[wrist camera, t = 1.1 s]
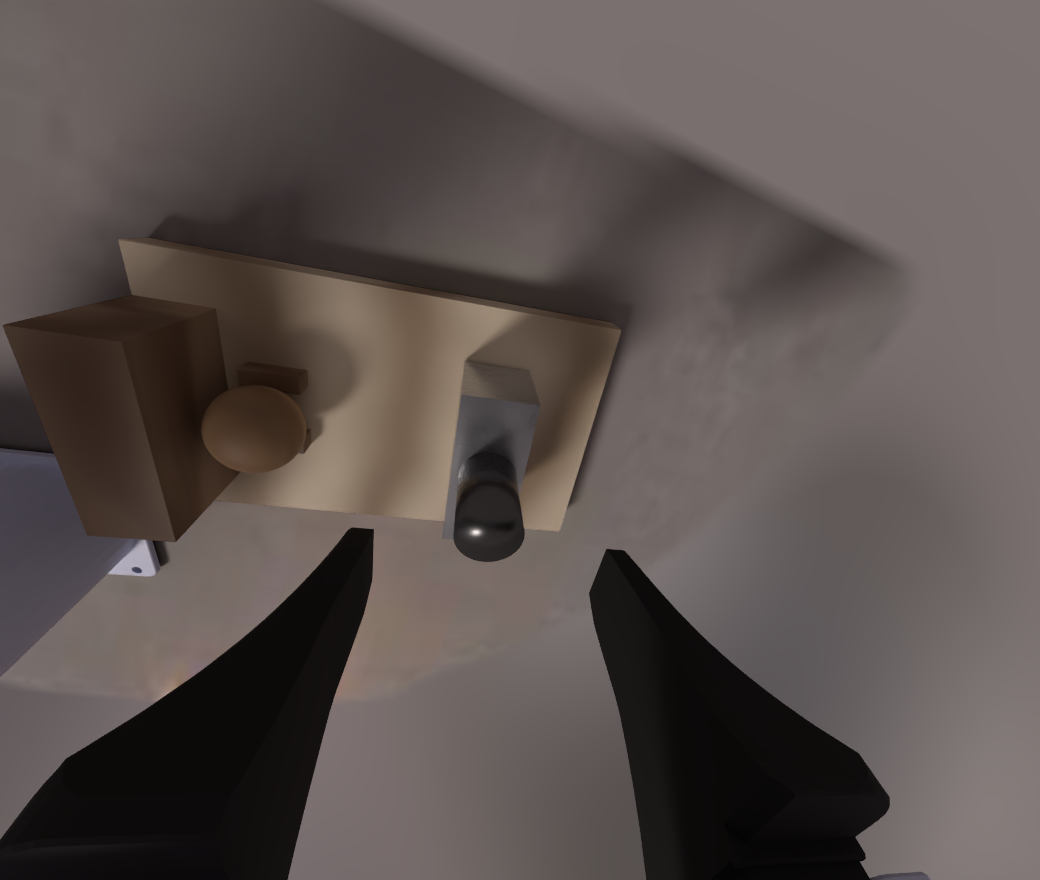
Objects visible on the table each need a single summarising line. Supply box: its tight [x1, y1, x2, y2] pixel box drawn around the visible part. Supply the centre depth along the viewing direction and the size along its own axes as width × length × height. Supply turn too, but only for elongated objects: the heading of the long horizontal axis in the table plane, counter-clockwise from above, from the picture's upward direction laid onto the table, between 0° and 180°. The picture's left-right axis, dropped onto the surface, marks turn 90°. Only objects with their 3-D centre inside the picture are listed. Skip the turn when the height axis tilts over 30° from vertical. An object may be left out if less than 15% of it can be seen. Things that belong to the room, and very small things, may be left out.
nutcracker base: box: [3, 237, 622, 542], centre depth 18 cm, size 20×12×6 cm, turn 79°
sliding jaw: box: [442, 360, 541, 562], centre depth 17 cm, size 3×7×8 cm, turn 169°
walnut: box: [201, 385, 306, 473], centre depth 17 cm, size 4×4×4 cm
